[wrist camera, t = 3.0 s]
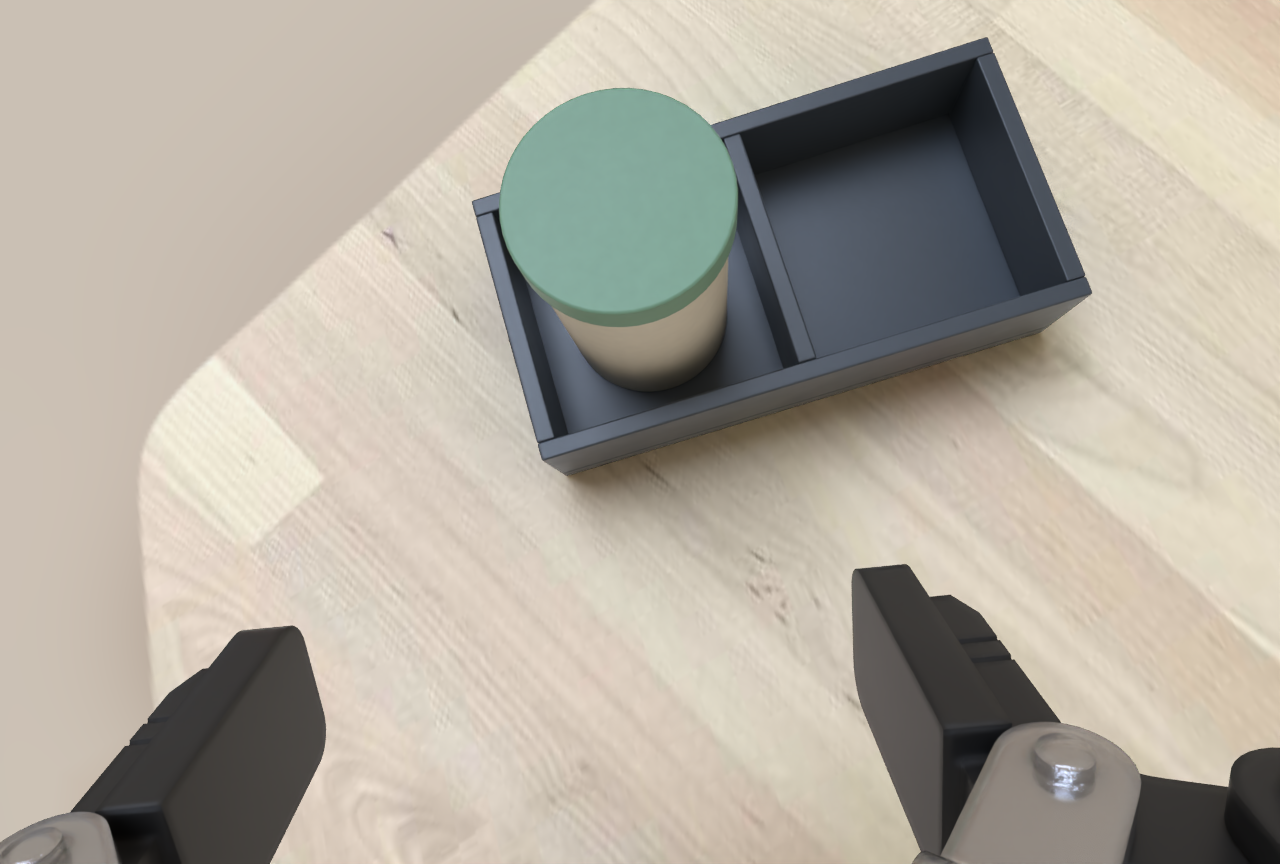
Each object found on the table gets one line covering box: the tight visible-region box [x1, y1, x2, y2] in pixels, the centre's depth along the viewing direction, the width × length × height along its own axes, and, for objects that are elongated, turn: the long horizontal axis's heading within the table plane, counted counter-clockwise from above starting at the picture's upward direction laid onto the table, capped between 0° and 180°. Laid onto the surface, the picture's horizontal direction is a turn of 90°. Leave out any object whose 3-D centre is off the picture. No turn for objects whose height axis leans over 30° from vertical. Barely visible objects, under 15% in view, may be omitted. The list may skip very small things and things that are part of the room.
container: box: [499, 88, 738, 392], centre depth 26 cm, size 6×6×10 cm
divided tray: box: [472, 37, 1092, 476], centre depth 29 cm, size 9×18×4 cm, turn 106°
